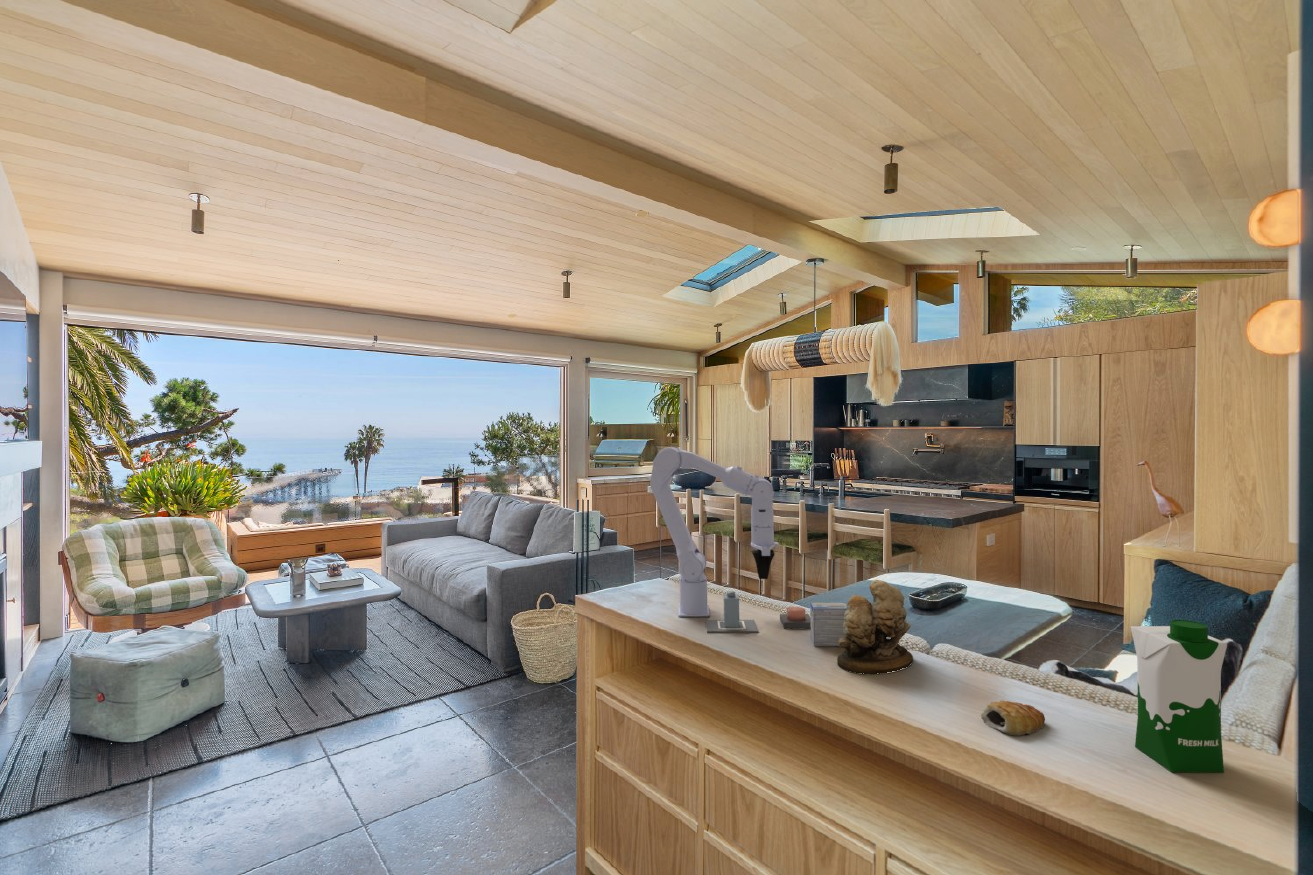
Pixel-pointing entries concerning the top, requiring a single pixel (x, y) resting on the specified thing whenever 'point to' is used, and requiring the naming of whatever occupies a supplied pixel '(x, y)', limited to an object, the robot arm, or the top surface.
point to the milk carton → (1179, 696)
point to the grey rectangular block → (731, 610)
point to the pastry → (1013, 717)
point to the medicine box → (827, 623)
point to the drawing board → (719, 627)
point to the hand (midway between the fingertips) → (763, 578)
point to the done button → (796, 613)
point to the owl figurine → (875, 632)
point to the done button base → (795, 622)
